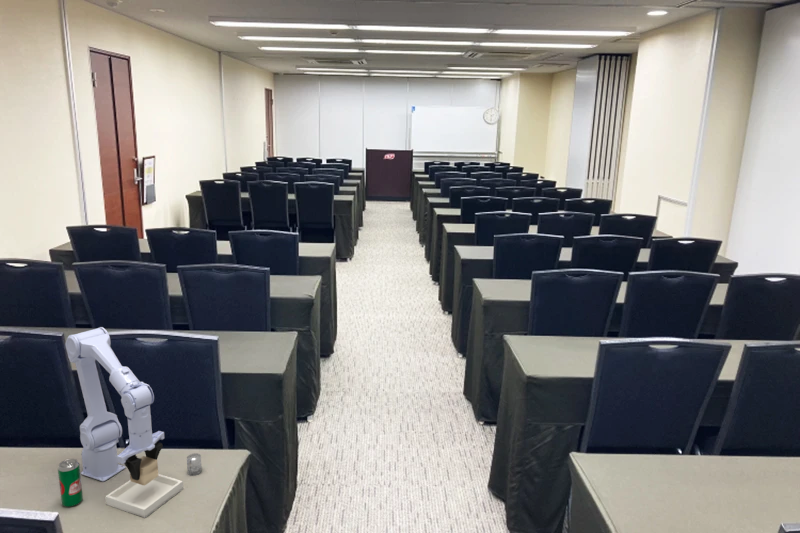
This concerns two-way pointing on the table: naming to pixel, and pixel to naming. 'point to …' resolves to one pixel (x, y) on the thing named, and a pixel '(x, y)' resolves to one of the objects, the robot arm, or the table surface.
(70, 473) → the soda can
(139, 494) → the tray
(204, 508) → the table surface
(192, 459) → the metal canister
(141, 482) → the birch block
